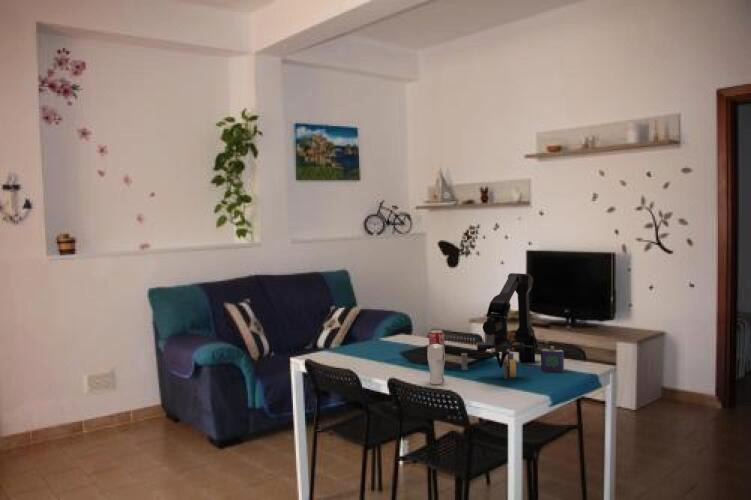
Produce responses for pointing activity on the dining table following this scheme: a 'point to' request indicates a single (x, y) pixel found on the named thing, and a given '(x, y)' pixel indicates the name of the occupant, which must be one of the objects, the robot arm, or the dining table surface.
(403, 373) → the dining table surface
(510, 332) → the wooden carving
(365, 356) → the dining table surface
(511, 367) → the frame
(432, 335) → the soda can
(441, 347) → the beer glass
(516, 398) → the dining table surface
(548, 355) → the flask
